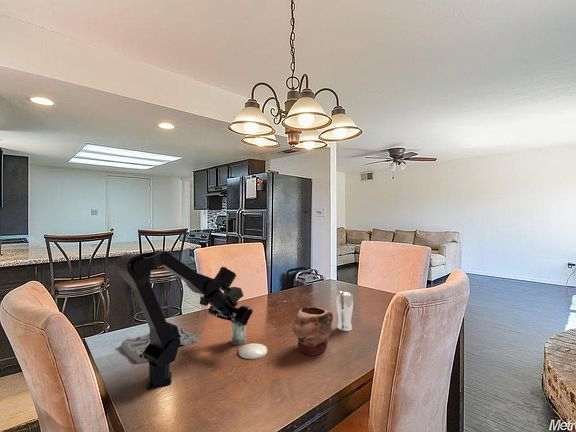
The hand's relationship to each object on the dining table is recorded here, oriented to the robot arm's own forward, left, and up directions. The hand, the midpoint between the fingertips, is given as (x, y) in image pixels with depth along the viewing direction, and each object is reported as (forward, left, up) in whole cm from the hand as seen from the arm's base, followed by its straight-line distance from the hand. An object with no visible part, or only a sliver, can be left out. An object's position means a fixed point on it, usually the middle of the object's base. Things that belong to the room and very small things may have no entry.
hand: (241, 322), depth 111 cm
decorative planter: (-16, -24, -7) cm, 30 cm away
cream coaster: (-11, -2, -7) cm, 13 cm away
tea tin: (-1, +1, -7) cm, 7 cm away
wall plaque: (+8, +28, -8) cm, 30 cm away
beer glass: (-5, -44, -7) cm, 45 cm away
